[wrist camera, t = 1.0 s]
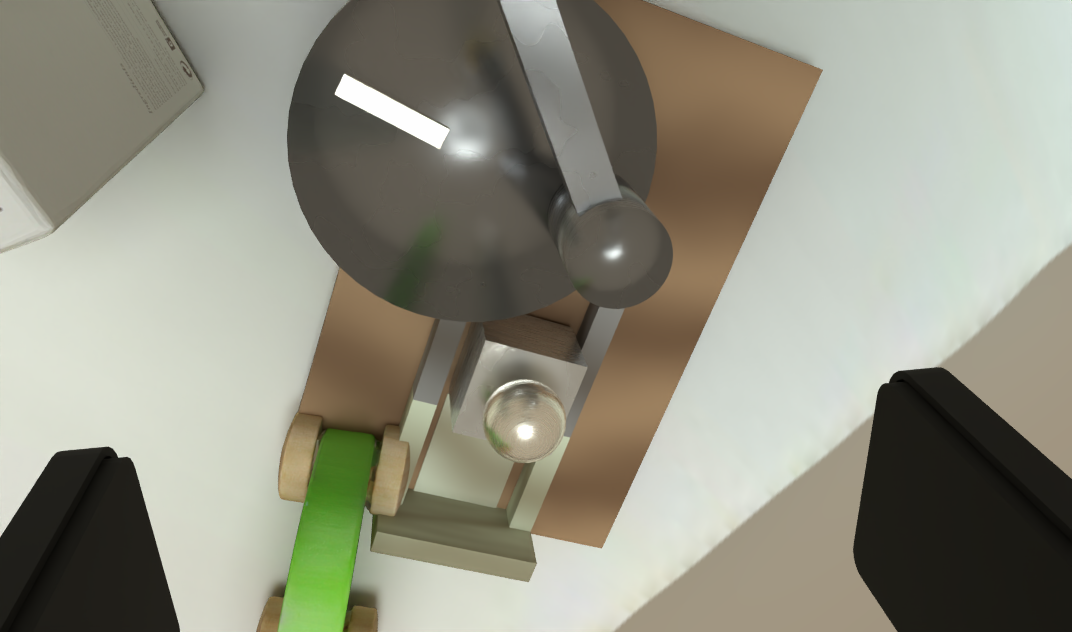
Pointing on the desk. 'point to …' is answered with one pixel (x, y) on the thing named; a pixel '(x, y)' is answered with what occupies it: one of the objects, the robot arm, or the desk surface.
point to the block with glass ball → (516, 385)
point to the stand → (573, 322)
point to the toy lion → (332, 520)
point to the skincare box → (79, 103)
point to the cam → (480, 156)
